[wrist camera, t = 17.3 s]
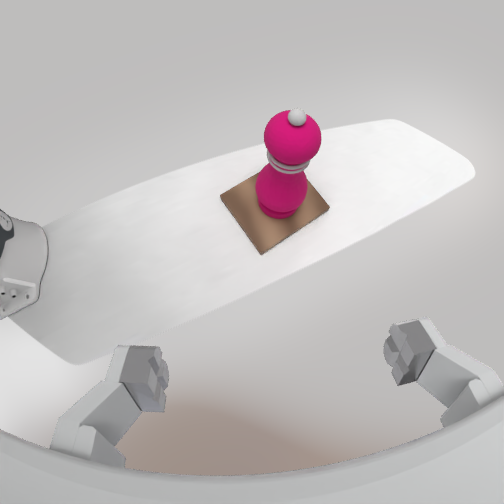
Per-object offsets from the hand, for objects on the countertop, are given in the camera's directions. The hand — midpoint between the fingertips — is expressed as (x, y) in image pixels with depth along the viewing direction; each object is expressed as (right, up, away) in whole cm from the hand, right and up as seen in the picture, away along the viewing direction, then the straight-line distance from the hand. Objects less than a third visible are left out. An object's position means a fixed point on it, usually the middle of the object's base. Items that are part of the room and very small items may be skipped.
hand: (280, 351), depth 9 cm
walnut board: (+3, +11, +35) cm, 37 cm away
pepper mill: (+3, +11, +35) cm, 36 cm away
